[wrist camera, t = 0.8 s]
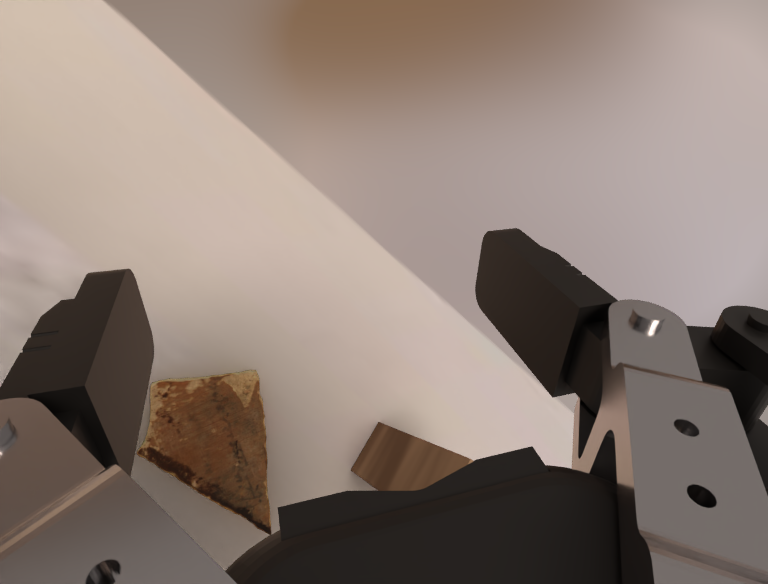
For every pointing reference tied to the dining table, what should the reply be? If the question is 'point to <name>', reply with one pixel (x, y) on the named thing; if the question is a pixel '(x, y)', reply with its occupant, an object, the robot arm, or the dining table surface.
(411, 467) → the pillar
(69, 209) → the dining table surface
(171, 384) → the shard
